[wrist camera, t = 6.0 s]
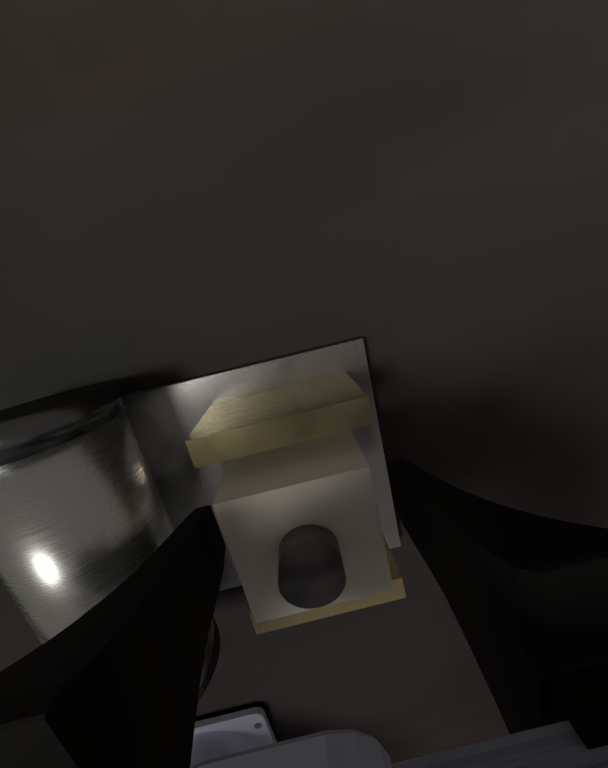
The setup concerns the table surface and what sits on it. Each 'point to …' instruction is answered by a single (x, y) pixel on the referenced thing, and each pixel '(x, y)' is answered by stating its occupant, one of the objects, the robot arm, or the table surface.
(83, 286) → the table surface
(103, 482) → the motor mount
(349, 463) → the light grey block
